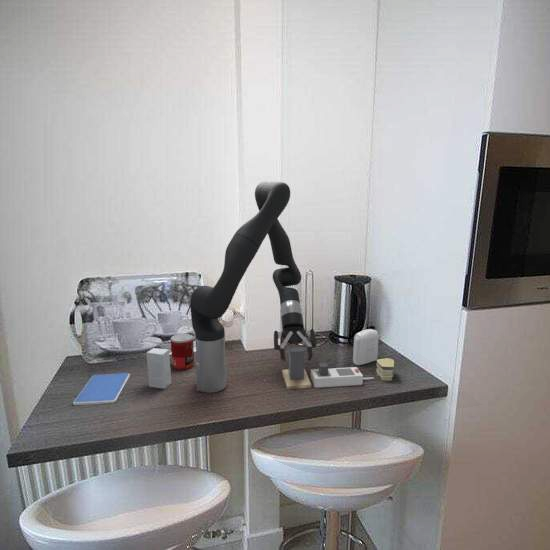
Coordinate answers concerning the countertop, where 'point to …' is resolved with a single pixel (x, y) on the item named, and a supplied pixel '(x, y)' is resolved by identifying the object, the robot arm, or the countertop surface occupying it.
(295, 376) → the block
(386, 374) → the yellow layered block
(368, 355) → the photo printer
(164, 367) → the skincare box
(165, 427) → the countertop surface
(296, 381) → the board
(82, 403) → the tablet computer
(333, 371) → the power strip
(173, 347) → the canned food
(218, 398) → the countertop surface
